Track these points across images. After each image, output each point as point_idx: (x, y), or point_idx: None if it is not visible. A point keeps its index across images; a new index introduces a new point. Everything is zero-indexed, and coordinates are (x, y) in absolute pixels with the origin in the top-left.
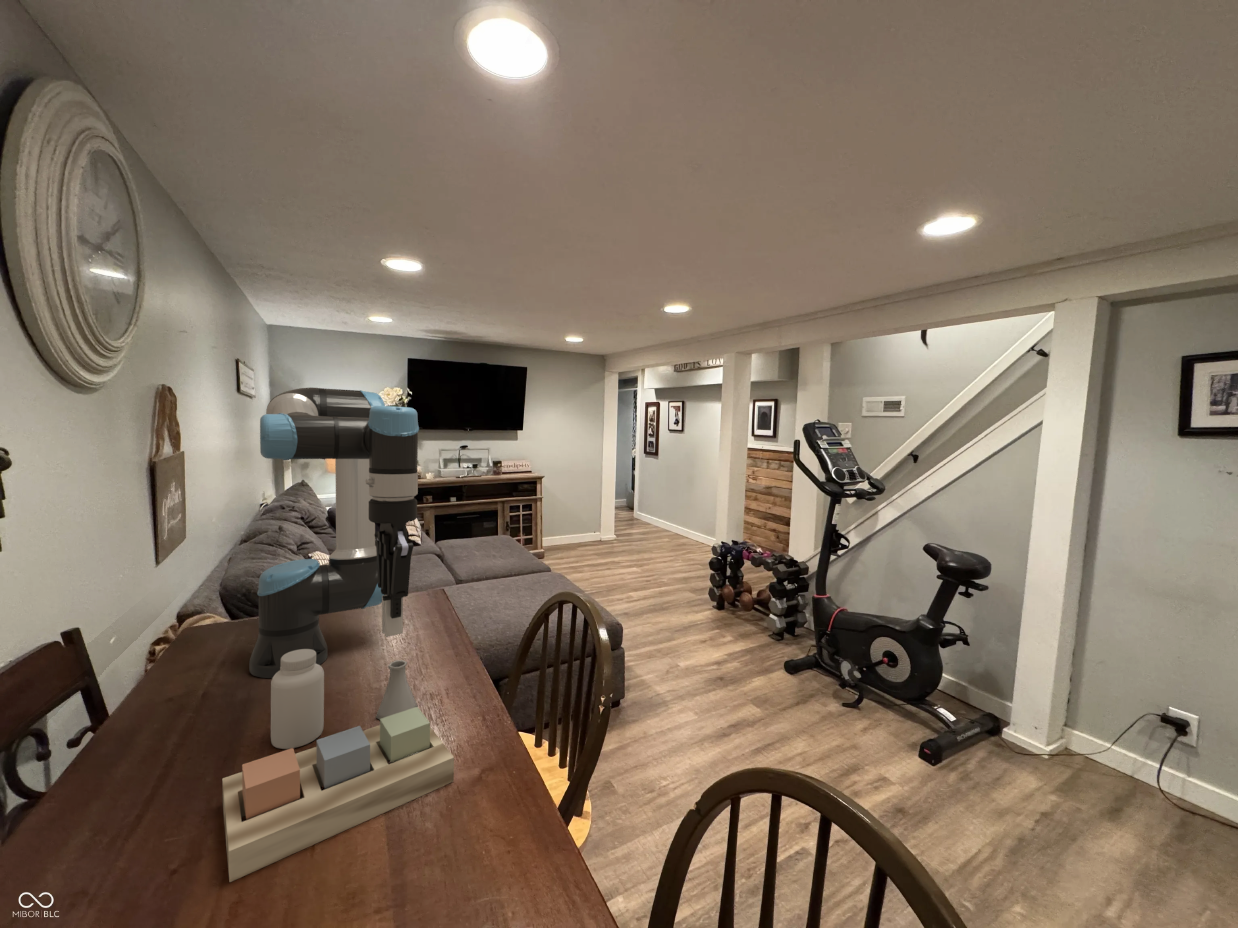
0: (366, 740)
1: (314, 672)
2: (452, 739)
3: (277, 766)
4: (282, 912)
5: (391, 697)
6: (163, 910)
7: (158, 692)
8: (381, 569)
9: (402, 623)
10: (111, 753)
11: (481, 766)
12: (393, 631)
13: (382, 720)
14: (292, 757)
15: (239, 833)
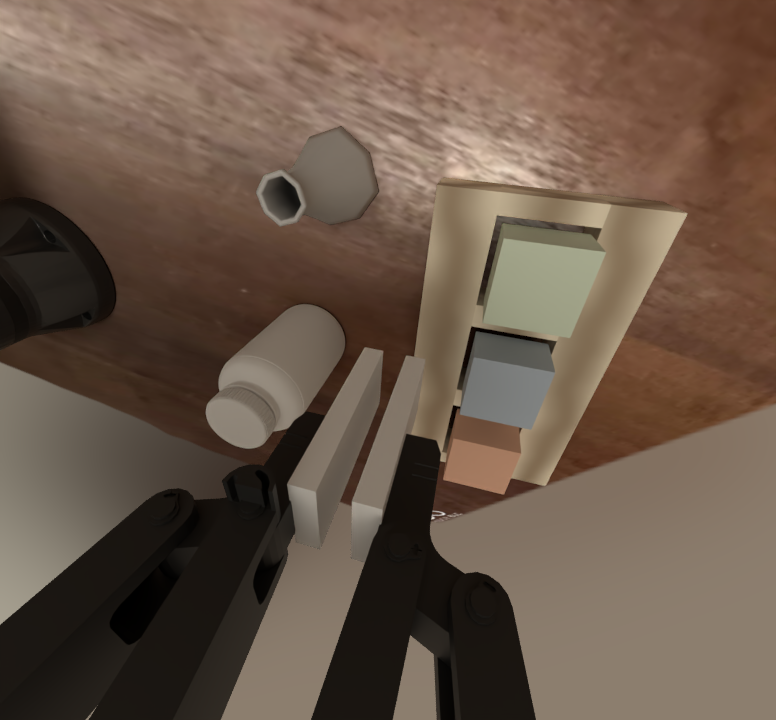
0: (536, 371)
1: (277, 388)
2: (531, 121)
3: (485, 463)
4: (635, 448)
5: (335, 209)
6: (524, 487)
7: (121, 401)
8: (101, 690)
9: (417, 387)
10: (243, 452)
11: (693, 117)
12: (417, 400)
13: (492, 321)
14: (480, 447)
15: (524, 473)
